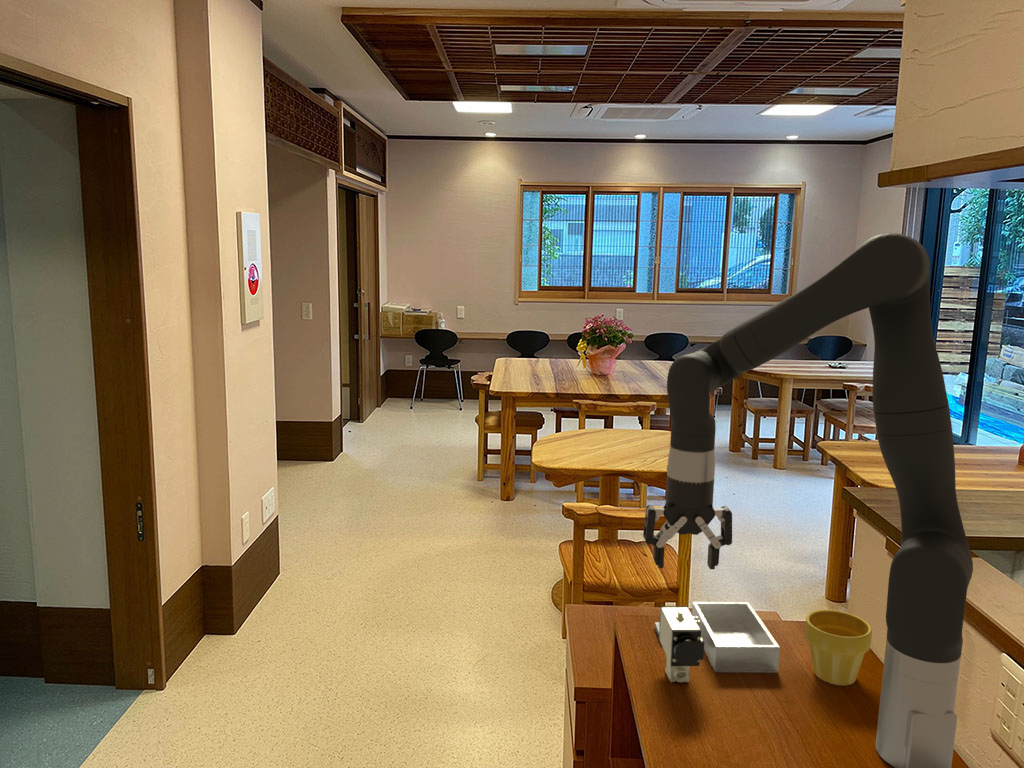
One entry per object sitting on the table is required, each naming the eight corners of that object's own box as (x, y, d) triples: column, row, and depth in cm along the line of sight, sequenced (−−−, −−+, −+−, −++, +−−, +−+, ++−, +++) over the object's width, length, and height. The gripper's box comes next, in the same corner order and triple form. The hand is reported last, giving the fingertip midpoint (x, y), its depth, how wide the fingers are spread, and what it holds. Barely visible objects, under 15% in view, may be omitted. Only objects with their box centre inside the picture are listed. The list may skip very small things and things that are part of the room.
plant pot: (801, 654, 133) (805, 604, 132) (863, 665, 130) (868, 614, 128) (802, 685, 124) (806, 631, 122) (870, 697, 120) (875, 642, 119)
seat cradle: (777, 672, 127) (779, 647, 127) (714, 672, 127) (716, 646, 127) (747, 625, 144) (748, 602, 143) (691, 624, 144) (692, 601, 143)
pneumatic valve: (672, 697, 120) (675, 629, 118) (655, 659, 132) (658, 596, 130) (705, 697, 120) (709, 629, 118) (686, 658, 132) (689, 596, 130)
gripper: (651, 480, 116) (647, 576, 119) (741, 481, 116) (734, 577, 119) (643, 466, 124) (639, 557, 126) (727, 467, 124) (721, 558, 126)
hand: (685, 567), depth 123 cm, fingers open, 8 cm apart
